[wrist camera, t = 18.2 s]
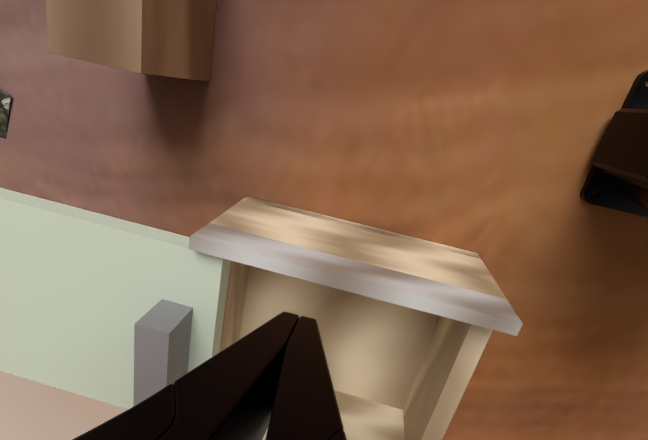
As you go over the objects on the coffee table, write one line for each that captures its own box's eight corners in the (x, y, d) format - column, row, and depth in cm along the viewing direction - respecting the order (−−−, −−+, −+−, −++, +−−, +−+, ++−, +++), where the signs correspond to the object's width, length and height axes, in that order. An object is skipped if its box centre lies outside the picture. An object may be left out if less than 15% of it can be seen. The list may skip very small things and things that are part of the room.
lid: (232, 248, 16) (201, 278, 14) (211, 417, 20) (184, 468, 17) (-31, 179, 17) (-110, 194, 15) (-3, 352, 21) (-61, 391, 18)
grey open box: (477, 252, 20) (522, 324, 14) (412, 414, 24) (423, 524, 18) (247, 196, 21) (189, 236, 15) (225, 360, 25) (174, 446, 19)
